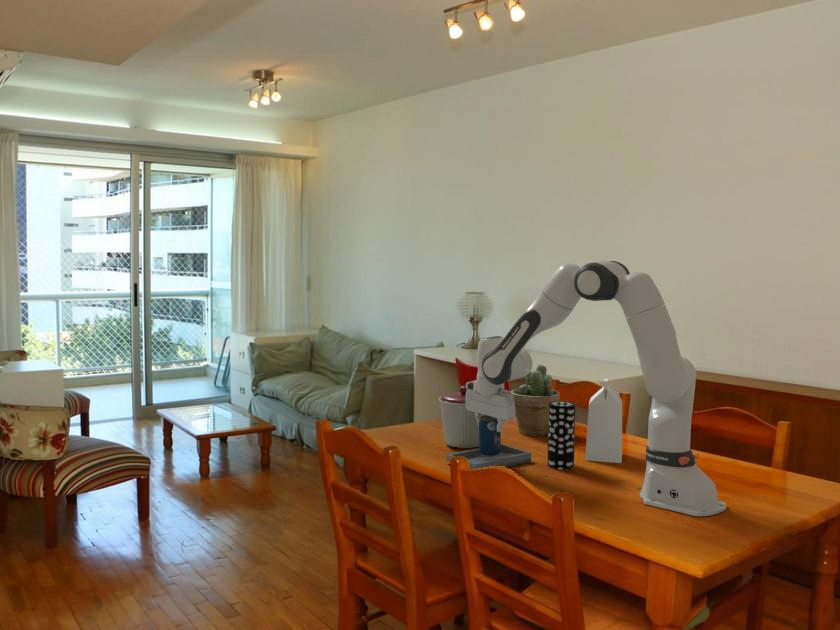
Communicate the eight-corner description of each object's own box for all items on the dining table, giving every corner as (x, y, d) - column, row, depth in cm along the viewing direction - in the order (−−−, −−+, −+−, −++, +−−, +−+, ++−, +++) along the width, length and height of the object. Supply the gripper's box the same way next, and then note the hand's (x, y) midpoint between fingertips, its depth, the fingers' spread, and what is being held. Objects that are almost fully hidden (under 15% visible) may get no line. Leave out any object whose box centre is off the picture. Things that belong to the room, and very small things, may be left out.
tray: (531, 461, 240) (531, 452, 240) (475, 474, 226) (475, 464, 225) (501, 452, 251) (501, 443, 251) (446, 463, 237) (446, 454, 237)
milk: (587, 451, 254) (589, 376, 252) (622, 453, 251) (624, 377, 249) (585, 460, 242) (587, 381, 240) (621, 463, 239) (623, 383, 237)
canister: (461, 436, 274) (462, 379, 272) (500, 445, 261) (501, 386, 259) (427, 444, 261) (428, 385, 259) (466, 454, 248) (466, 392, 246)
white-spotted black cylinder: (573, 470, 230) (575, 407, 229) (546, 468, 232) (548, 405, 231) (573, 463, 239) (575, 402, 237) (547, 461, 240) (549, 400, 239)
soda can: (501, 457, 235) (500, 420, 233) (479, 457, 235) (478, 420, 234) (500, 450, 242) (499, 414, 240) (479, 450, 242) (478, 414, 241)
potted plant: (562, 438, 271) (564, 371, 269) (512, 438, 271) (513, 370, 269) (554, 427, 289) (555, 364, 287) (507, 426, 290) (508, 363, 288)
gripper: (520, 390, 230) (519, 433, 231) (476, 381, 246) (476, 422, 247) (505, 392, 226) (504, 436, 227) (462, 382, 243) (461, 424, 244)
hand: (489, 429), depth 238 cm, fingers closed on soda can, 7 cm apart
